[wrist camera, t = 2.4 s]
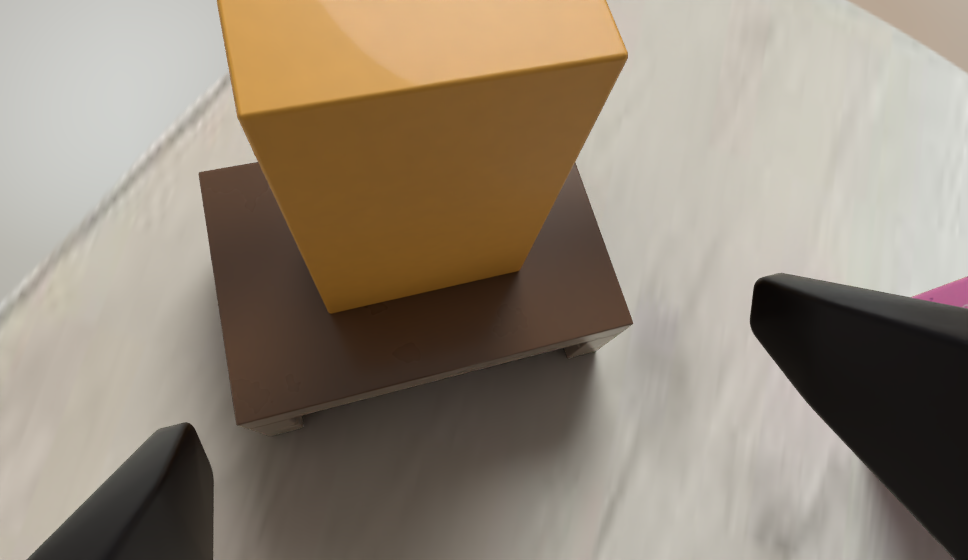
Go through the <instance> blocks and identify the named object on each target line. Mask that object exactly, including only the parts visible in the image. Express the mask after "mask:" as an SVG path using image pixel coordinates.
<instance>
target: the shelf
mask: <svg viewBox="0 0 968 560" xmlns="http://www.w3.org/2000/svg"><path fill="white" fill-rule="evenodd" d="M199 180H200V187H201V193H202V200H203V207H204V213H205V220H206V226H207V233H208V240H209V246H210V253H211V260H212V266H213V273H214V280H215V286H216V293H217V299H218V306H219V313H220V319H221V326H222V333H223V339H224V346H225V352H226V359H227V366H228V372H229V379H230V386H231V392H232V399H233V406H234V412H235V419H236V424H237V425H238V426H240V427H243V428H246V429H251V430H253V431H256V432H259V433H262V434H264V435H267V436H274V435H278V434H282V433H285V432H289V431H293V430H297V429H301V428H303V426H304V423H303V418H302V415H305V414H309V413H313V412H317V411H321V410H325V409H329V408H332V407H336V406H340V405H344V404H348V403H352V402H356V401H360V400H364V399H367V398H371V397H375V396H379V395H383V394H387V393H391V392H395V391H398V390H402V389H406V388H410V387H414V386H418V385H422V384H426V383H429V382H433V381H437V380H441V379H445V378H449V377H453V376H457V375H460V374H464V373H468V372H472V371H476V370H480V369H484V368H488V367H491V366H495V365H499V364H503V363H507V362H511V361H515V360H519V359H522V358H526V357H530V356H534V355H538V354H542V353H546V352H550V351H553V350H557V349H561V348H564V350H565V353H566V356H567V358H572V357H576V356H580V355H584V354H587V353H591V352H595V351H597V350H598V349H600V348H601V347H602V346H604V345H605V344H606V343H608V342H609V341H611V340H612V339H613V338H615V337H616V336H617V335H619V334H620V333H621V332H623V331H624V330H626V329H627V328H628V327H630V326H631V325H632V324H633V321H632V318H631V315H630V313H629V310H628V307H627V304H626V302H625V299H624V296H623V293H622V291H621V288H620V285H619V282H618V279H617V277H616V274H615V271H614V268H613V266H612V263H611V260H610V257H609V255H608V252H607V249H606V246H605V243H604V241H603V238H602V235H601V232H600V230H599V227H598V224H597V221H596V218H595V216H594V213H593V210H592V207H591V205H590V202H589V199H588V196H587V194H586V191H585V188H584V185H583V182H582V180H581V177H580V174H579V171H578V169H577V166H576V163H574V165H573V167H572V169H571V171H570V173H569V175H568V177H567V179H566V181H565V183H564V185H563V187H562V189H561V191H560V193H559V195H558V196H557V198H556V200H555V202H554V204H553V206H552V208H551V210H550V212H549V214H548V216H547V218H546V220H545V222H544V224H543V226H542V228H541V230H540V232H539V234H538V236H537V238H536V240H535V242H534V244H533V246H532V248H531V250H530V252H529V254H528V256H527V258H526V260H525V261H524V263H523V265H522V267H521V269H520V270H519V271H516V272H512V273H507V274H503V275H499V276H494V277H490V278H485V279H481V280H477V281H472V282H468V283H463V284H459V285H455V286H450V287H446V288H442V289H437V290H433V291H428V292H424V293H420V294H415V295H411V296H406V297H402V298H398V299H393V300H389V301H384V302H380V303H376V304H371V305H367V306H362V307H358V308H354V309H349V310H345V311H340V312H336V313H332V314H331V313H329V312H328V311H327V308H326V306H325V304H324V302H323V300H322V298H321V296H320V293H319V291H318V289H317V287H316V285H315V283H314V281H313V278H312V276H311V274H310V272H309V270H308V268H307V266H306V263H305V261H304V259H303V257H302V255H301V253H300V251H299V248H298V246H297V244H296V242H295V240H294V238H293V235H292V233H291V231H290V229H289V227H288V225H287V223H286V220H285V218H284V216H283V214H282V212H281V210H280V208H279V205H278V203H277V201H276V199H275V197H274V195H273V193H272V190H271V188H270V186H269V184H268V182H267V180H266V178H265V175H264V173H263V171H262V169H261V167H260V165H259V163H258V162H256V163H250V164H244V165H238V166H233V167H227V168H221V169H215V170H210V171H204V172H199Z"/></svg>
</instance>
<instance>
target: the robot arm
mask: <svg viewBox="0 0 968 560" xmlns="http://www.w3.org/2000/svg"><path fill="white" fill-rule="evenodd" d="M750 326H751V329H752V331H753V334H754V335H755V337H756V338H757V339H758V340H759V342H760V343H761V344H762V346H763V347H764V348H765V350H766V351H767V352H768V353H769V355H770V356H771V357H772V359H773V360H774V361H775V362H776V364H777V365H778V366H779V368H780V369H781V370H782V371H783V373H784V374H785V375H786V377H787V378H788V379H789V380H790V382H791V383H792V384H793V386H794V387H795V388H796V390H797V391H798V392H799V393H800V395H801V396H802V397H803V398H804V399H805V401H806V402H807V403H808V404H809V405H810V406H811V408H812V409H813V410H814V411H815V412H816V413H817V414H818V415H819V416H820V417H821V418H822V419H823V421H824V422H825V423H826V424H827V425H828V426H829V427H830V428H831V429H832V430H833V431H834V432H835V433H836V434H837V435H838V436H839V437H840V439H841V440H842V441H843V442H844V443H845V444H846V445H847V446H848V447H849V448H850V449H851V450H852V451H853V452H854V453H855V454H856V455H857V457H858V458H859V459H860V460H861V461H862V462H863V463H864V464H865V465H866V466H867V467H868V468H869V469H870V470H871V471H872V472H873V474H874V475H875V476H876V477H877V478H878V479H879V480H880V481H881V482H882V483H883V484H884V485H885V486H886V487H887V488H888V489H889V490H890V492H891V493H892V494H893V495H894V496H895V497H896V498H897V499H898V500H899V501H900V502H901V503H902V504H903V505H904V506H905V507H906V508H907V510H908V511H909V512H910V513H911V514H912V515H913V516H914V517H915V518H916V519H917V520H918V521H919V522H920V523H921V524H922V525H923V526H924V528H925V529H926V530H927V531H928V532H929V533H930V534H931V535H932V536H933V537H934V538H935V539H936V540H937V541H938V542H939V543H940V544H941V546H942V547H943V548H944V549H945V550H946V551H947V552H948V553H949V554H950V555H951V556H952V557H953V558H954V559H955V560H968V308H963V307H958V306H953V305H947V304H942V303H937V302H932V301H926V300H921V299H916V298H911V297H905V296H900V295H895V294H889V293H884V292H879V291H874V290H868V289H863V288H858V287H853V286H847V285H842V284H837V283H832V282H826V281H821V280H816V279H811V278H805V277H800V276H795V275H790V274H784V273H778V274H774V275H770V276H766V277H762V278H760V279H758V280H757V281H756V283H755V285H754V289H753V298H752V306H751V314H750ZM213 517H214V479H213V472H212V468H211V465H210V462H209V460H208V458H207V455H206V453H205V451H204V449H203V446H202V444H201V442H200V439H199V437H198V435H197V432H196V430H195V428H194V427H193V426H192V425H191V424H190V423H187V422H185V423H181V424H177V425H173V426H169V427H165V428H161V429H159V430H157V431H156V432H155V433H153V434H152V435H151V436H150V437H149V438H148V439H147V440H146V441H145V442H144V443H143V444H142V445H141V446H140V447H139V448H138V449H137V450H136V451H135V452H134V453H133V454H132V455H131V456H130V457H129V458H128V459H127V460H126V461H125V462H124V463H123V464H122V465H121V466H120V467H119V468H118V469H117V470H116V471H115V472H114V473H113V474H112V475H111V476H110V477H109V478H108V479H107V480H106V481H105V482H104V483H103V484H102V485H101V486H100V487H99V488H98V489H97V490H96V491H95V492H94V493H93V494H92V495H91V496H90V497H89V498H88V499H87V500H86V501H85V502H84V503H83V504H82V505H81V506H80V507H79V508H78V509H77V510H76V511H75V512H74V513H73V514H72V515H71V516H70V517H69V518H68V519H67V520H66V521H65V522H64V523H63V524H62V525H61V526H60V527H59V528H58V529H57V530H56V531H55V532H54V533H53V534H52V535H51V536H50V537H49V538H48V539H47V540H46V541H45V542H44V543H43V544H42V545H41V546H40V547H39V548H38V549H37V550H36V551H35V552H34V553H33V554H32V555H31V556H30V557H29V558H28V559H27V560H213Z"/></svg>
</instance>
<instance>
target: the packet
mask: <svg viewBox="0 0 968 560" xmlns="http://www.w3.org/2000/svg"><path fill="white" fill-rule="evenodd" d="M217 5H218V11H219V17H220V22H221V28H222V33H223V39H224V45H225V50H226V56H227V62H228V67H229V73H230V78H231V84H232V90H233V95H234V101H235V107H236V112H237V117H238V120H239V122H240V124H241V126H242V128H243V130H244V132H245V135H246V137H247V139H248V141H249V143H250V145H251V147H252V150H253V152H254V154H255V156H256V158H257V160H258V163H259V165H260V167H261V169H262V171H263V173H264V175H265V178H266V180H267V182H268V184H269V186H270V188H271V190H272V193H273V195H274V197H275V199H276V201H277V203H278V205H279V208H280V210H281V212H282V214H283V216H284V218H285V220H286V223H287V225H288V227H289V229H290V231H291V233H292V235H293V238H294V240H295V242H296V244H297V246H298V248H299V251H300V253H301V255H302V257H303V259H304V261H305V263H306V266H307V268H308V270H309V272H310V274H311V276H312V278H313V281H314V283H315V285H316V287H317V289H318V291H319V293H320V296H321V298H322V300H323V302H324V304H325V306H326V308H327V311H328V312H329V313H331V314H332V313H336V312H340V311H345V310H349V309H354V308H358V307H362V306H367V305H371V304H376V303H380V302H384V301H389V300H393V299H398V298H402V297H406V296H411V295H415V294H420V293H424V292H428V291H433V290H437V289H442V288H446V287H450V286H455V285H459V284H463V283H468V282H472V281H477V280H481V279H485V278H490V277H494V276H499V275H503V274H507V273H512V272H516V271H519V270H520V269H521V267H522V265H523V263H524V261H525V260H526V258H527V256H528V254H529V252H530V250H531V248H532V246H533V244H534V242H535V240H536V238H537V236H538V234H539V232H540V230H541V228H542V226H543V224H544V222H545V220H546V218H547V216H548V214H549V212H550V210H551V208H552V206H553V204H554V202H555V200H556V198H557V196H558V195H559V193H560V191H561V189H562V187H563V185H564V183H565V181H566V179H567V177H568V175H569V173H570V171H571V169H572V167H573V165H574V163H575V161H576V159H577V157H578V155H579V153H580V151H581V149H582V147H583V145H584V143H585V141H586V139H587V137H588V135H589V133H590V132H591V130H592V128H593V126H594V124H595V122H596V120H597V118H598V116H599V114H600V112H601V110H602V108H603V106H604V104H605V102H606V100H607V98H608V96H609V94H610V92H611V90H612V88H613V86H614V84H615V82H616V80H617V78H618V76H619V74H620V72H621V70H622V69H623V67H624V65H625V63H626V61H627V59H628V52H627V50H626V48H625V45H624V43H623V40H622V38H621V36H620V33H619V31H618V28H617V26H616V24H615V21H614V19H613V16H612V14H611V11H610V9H609V7H608V4H607V2H606V0H217Z"/></svg>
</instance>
